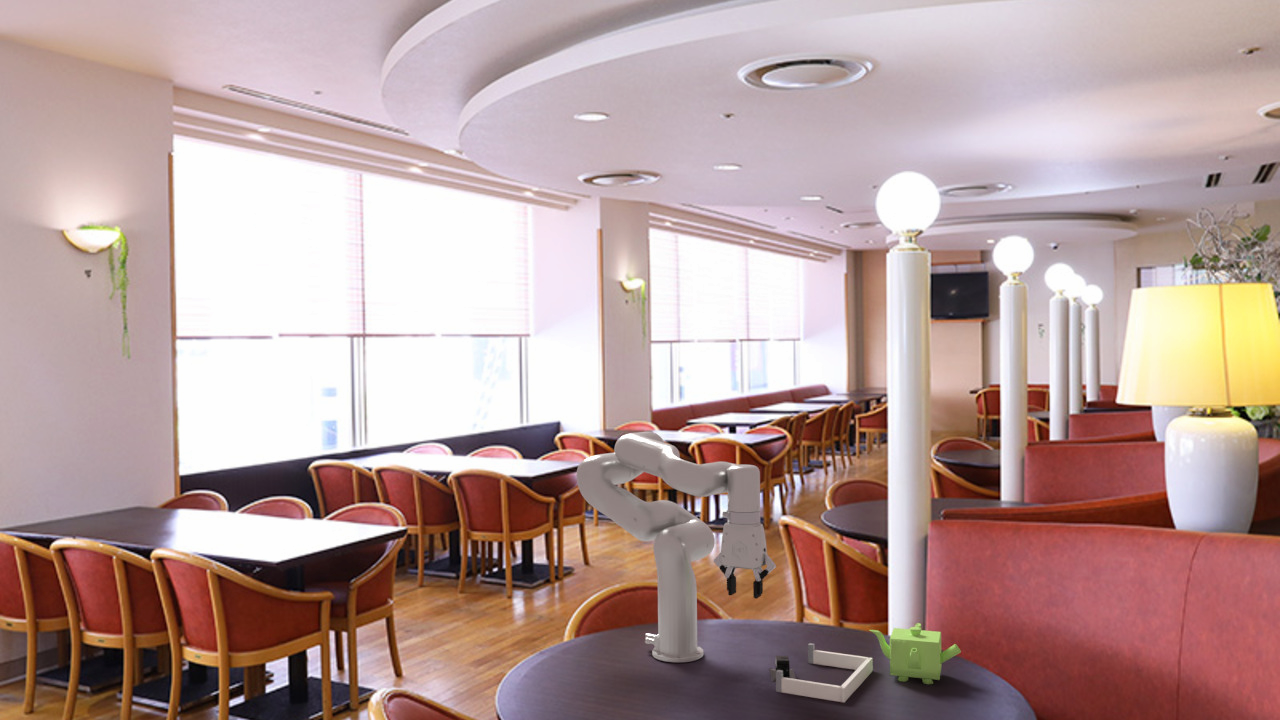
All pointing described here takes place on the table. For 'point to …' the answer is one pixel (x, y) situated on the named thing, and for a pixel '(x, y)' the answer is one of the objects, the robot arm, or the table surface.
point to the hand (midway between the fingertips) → (744, 594)
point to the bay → (826, 690)
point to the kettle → (915, 653)
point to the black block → (782, 668)
